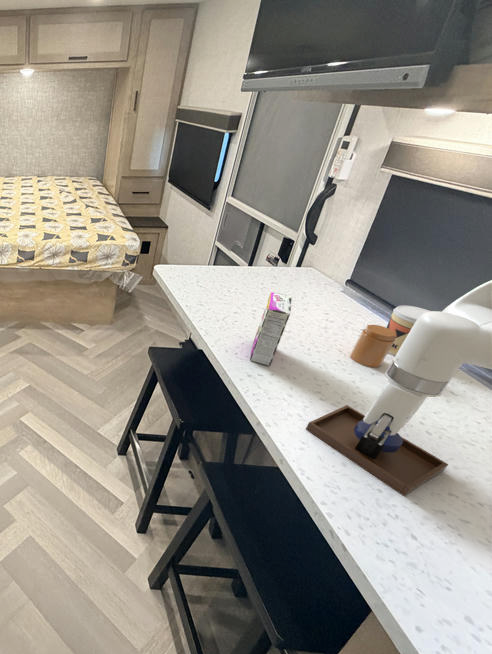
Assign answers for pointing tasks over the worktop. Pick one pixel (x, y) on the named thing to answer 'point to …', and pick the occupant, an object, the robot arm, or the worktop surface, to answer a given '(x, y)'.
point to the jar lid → (390, 443)
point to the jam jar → (373, 345)
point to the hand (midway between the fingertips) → (372, 445)
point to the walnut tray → (392, 468)
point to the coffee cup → (403, 324)
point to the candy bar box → (271, 328)
